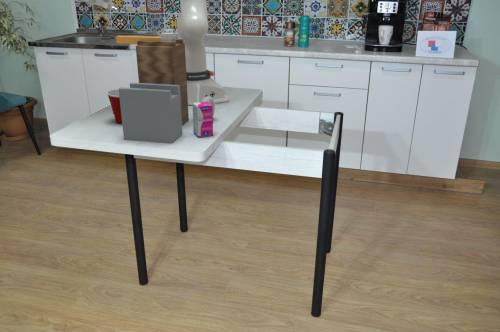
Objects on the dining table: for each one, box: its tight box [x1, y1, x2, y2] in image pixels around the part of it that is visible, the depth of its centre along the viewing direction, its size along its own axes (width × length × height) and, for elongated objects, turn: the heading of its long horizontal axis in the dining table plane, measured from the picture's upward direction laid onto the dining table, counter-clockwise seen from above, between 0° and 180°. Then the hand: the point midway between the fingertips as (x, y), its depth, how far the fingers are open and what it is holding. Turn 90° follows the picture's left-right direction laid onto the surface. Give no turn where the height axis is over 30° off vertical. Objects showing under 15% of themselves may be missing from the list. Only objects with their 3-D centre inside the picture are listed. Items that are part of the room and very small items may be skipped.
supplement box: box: [192, 102, 214, 139], centre depth 170 cm, size 6×6×12 cm
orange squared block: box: [115, 32, 176, 45], centre depth 174 cm, size 22×4×4 cm, turn 76°
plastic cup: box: [106, 88, 122, 125], centre depth 185 cm, size 11×11×12 cm
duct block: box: [118, 82, 184, 144], centre depth 166 cm, size 18×10×18 cm, turn 76°
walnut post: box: [135, 38, 190, 127], centre depth 178 cm, size 14×12×32 cm
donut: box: [201, 96, 216, 116], centre depth 185 cm, size 10×4×10 cm, turn 161°
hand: (112, 7), depth 178 cm, fingers open, 8 cm apart
